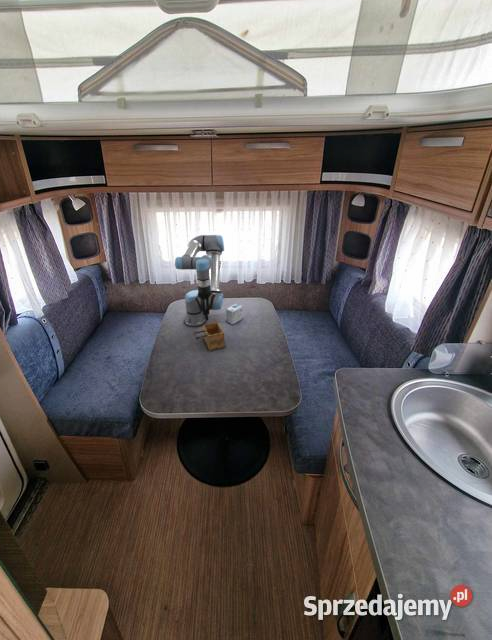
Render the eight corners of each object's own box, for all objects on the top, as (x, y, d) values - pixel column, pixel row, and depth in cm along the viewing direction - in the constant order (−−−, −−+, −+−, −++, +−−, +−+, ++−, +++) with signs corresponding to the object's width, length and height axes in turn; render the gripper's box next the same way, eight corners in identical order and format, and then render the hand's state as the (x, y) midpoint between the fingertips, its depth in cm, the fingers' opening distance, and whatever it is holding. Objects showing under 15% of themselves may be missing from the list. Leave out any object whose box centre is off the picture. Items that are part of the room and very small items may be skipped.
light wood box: (224, 346, 180) (198, 353, 175) (218, 335, 191) (193, 341, 186) (224, 332, 176) (197, 338, 171) (217, 321, 187) (192, 327, 182)
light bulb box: (236, 315, 214) (235, 303, 209) (242, 318, 209) (242, 306, 205) (226, 321, 207) (225, 308, 202) (232, 324, 202) (232, 311, 198)
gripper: (194, 289, 161) (197, 324, 171) (216, 285, 164) (218, 320, 174) (191, 284, 167) (194, 318, 177) (212, 280, 171) (214, 314, 181)
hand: (206, 319), depth 176 cm, fingers closed
